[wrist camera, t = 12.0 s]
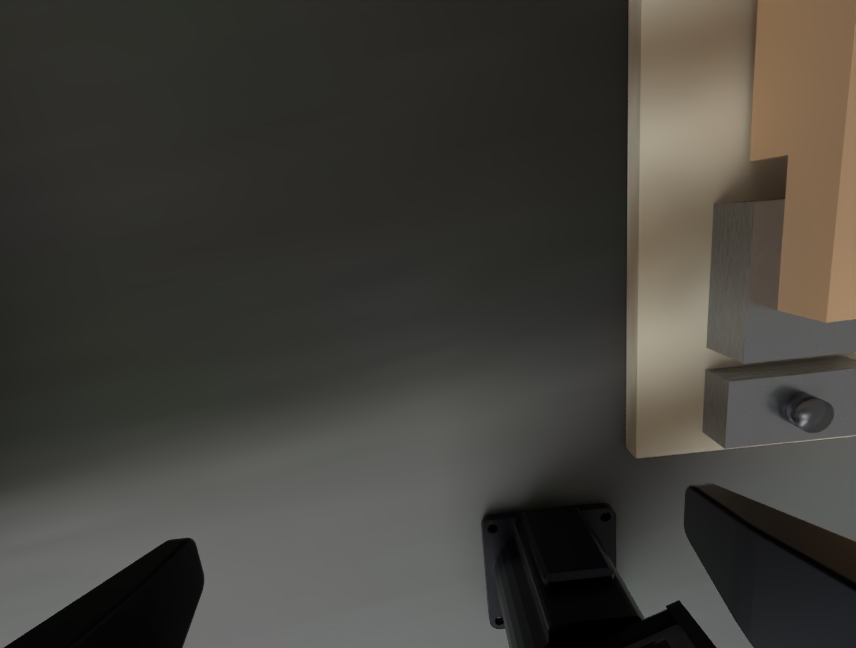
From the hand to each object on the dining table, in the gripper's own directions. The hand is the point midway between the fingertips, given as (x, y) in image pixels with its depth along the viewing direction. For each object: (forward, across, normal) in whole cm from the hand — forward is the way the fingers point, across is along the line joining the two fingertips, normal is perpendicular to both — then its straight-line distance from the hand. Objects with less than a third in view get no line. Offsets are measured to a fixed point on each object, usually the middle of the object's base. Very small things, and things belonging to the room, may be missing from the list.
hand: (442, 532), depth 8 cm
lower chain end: (+11, -15, 0) cm, 19 cm away
